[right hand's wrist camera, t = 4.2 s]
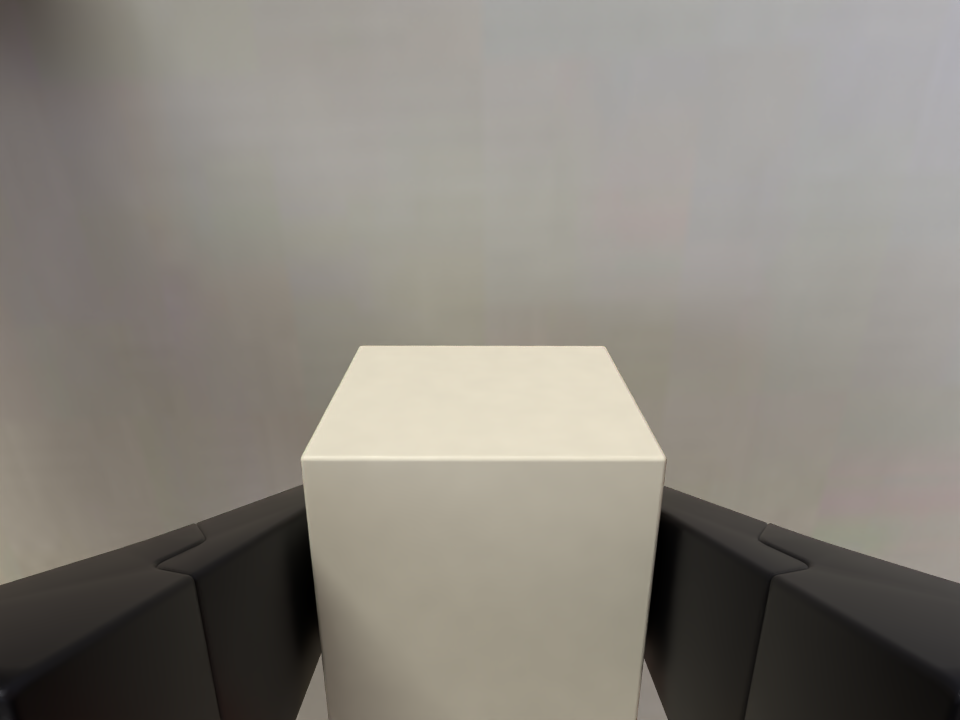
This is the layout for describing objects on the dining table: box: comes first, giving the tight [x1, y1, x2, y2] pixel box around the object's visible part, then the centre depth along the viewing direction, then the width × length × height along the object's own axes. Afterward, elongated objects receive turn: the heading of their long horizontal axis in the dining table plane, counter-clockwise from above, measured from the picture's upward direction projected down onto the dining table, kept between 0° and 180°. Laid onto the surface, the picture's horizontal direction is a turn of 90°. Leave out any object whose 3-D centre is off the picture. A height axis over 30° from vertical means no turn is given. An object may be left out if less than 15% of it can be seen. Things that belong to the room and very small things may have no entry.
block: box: [301, 346, 667, 720], centre depth 11 cm, size 4×5×4 cm
